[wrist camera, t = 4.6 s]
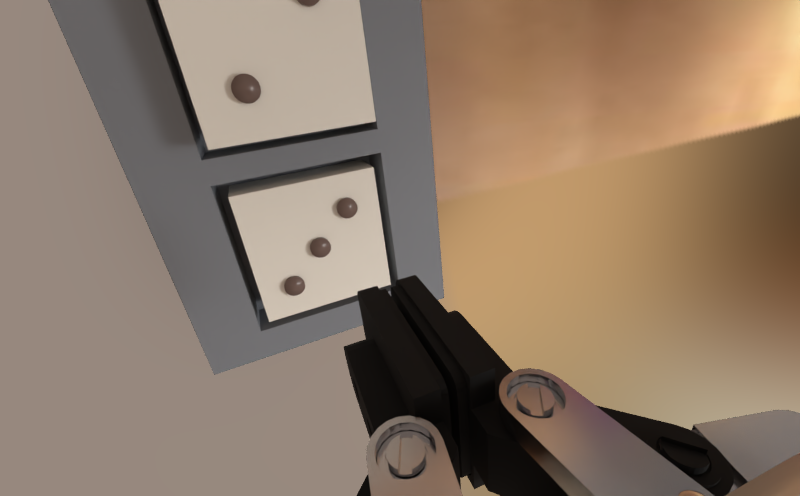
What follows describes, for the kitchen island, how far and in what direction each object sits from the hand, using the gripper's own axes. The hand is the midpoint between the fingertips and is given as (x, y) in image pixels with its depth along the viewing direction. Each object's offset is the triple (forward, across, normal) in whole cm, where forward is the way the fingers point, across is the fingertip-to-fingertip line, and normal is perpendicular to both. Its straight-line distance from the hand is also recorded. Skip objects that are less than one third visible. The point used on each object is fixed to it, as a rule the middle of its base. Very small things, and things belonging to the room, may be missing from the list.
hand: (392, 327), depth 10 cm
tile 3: (+9, +1, 0) cm, 9 cm away
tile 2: (+8, +1, -8) cm, 11 cm away
